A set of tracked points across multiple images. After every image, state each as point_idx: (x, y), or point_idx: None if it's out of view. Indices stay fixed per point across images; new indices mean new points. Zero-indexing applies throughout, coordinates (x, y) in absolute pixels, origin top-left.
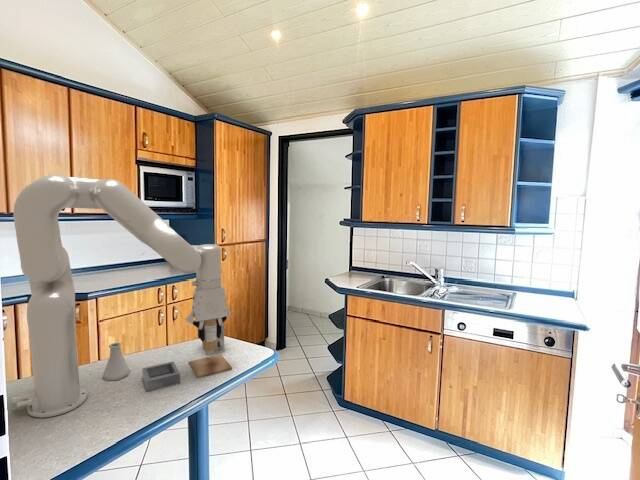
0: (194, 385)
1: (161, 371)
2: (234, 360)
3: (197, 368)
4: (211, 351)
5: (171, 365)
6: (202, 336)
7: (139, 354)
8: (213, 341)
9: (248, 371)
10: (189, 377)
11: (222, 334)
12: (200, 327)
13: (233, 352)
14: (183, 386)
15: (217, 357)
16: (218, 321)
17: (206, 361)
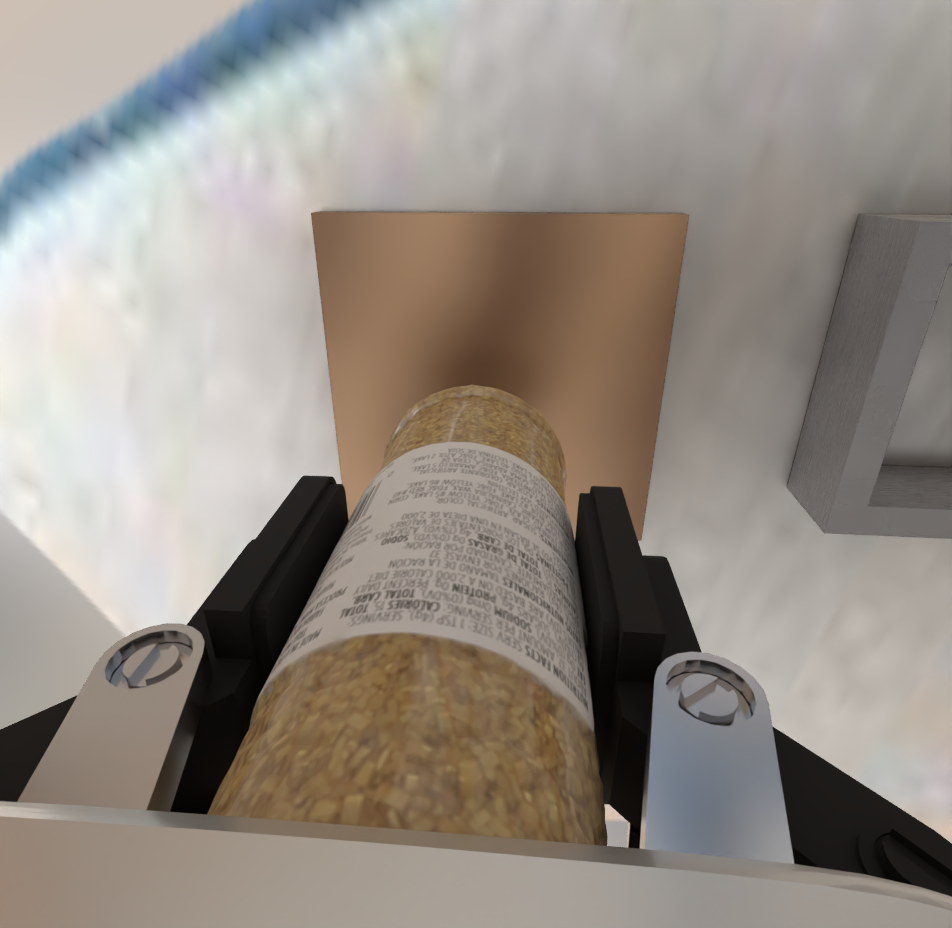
0: (767, 73)
1: (924, 479)
2: (258, 387)
3: (622, 376)
4: None
5: (872, 472)
6: (632, 530)
7: None
8: (436, 440)
9: (165, 72)
10: (732, 282)
11: None
12: (716, 700)
13: (238, 528)
14: (867, 119)
15: None
16: (171, 734)
17: None
